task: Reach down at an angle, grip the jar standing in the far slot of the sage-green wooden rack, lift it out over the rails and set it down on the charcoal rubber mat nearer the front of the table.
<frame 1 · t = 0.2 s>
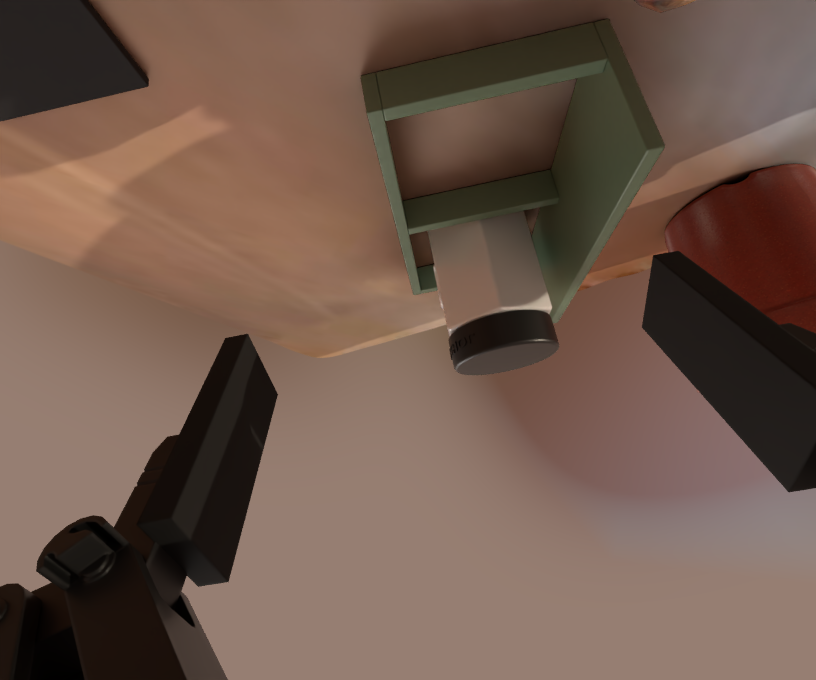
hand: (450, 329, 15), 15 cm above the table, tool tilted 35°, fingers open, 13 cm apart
jar: (473, 226, 38), resting in rack
flower pot: (732, 204, 41), on the table
rack: (475, 188, 32), on the table
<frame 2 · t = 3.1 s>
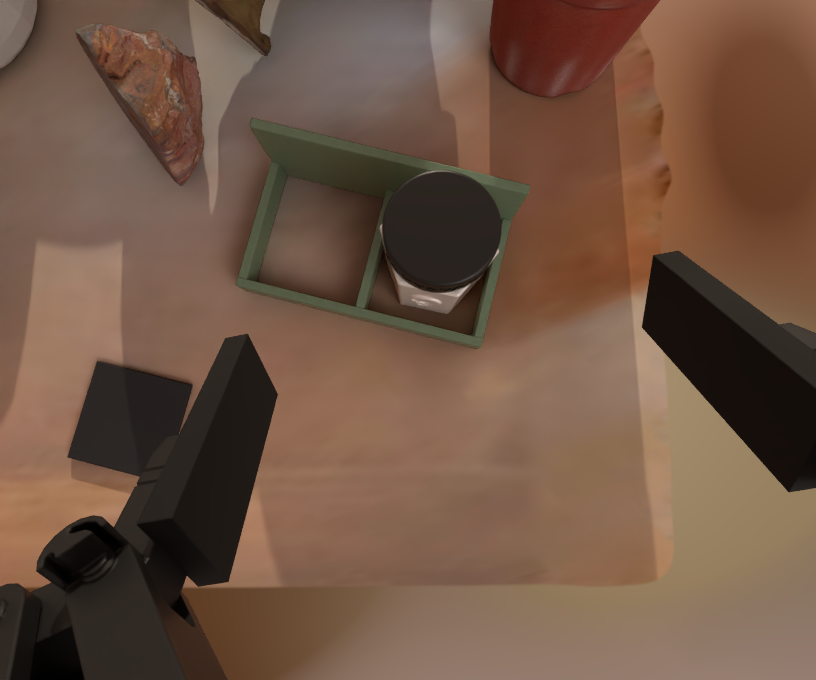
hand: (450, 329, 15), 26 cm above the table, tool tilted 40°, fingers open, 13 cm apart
mat: (132, 420, 40), on the table
jar: (432, 270, 42), resting in rack
flower pot: (548, 42, 43), on the table
stone: (190, 127, 43), on the table
rack: (377, 255, 41), on the table
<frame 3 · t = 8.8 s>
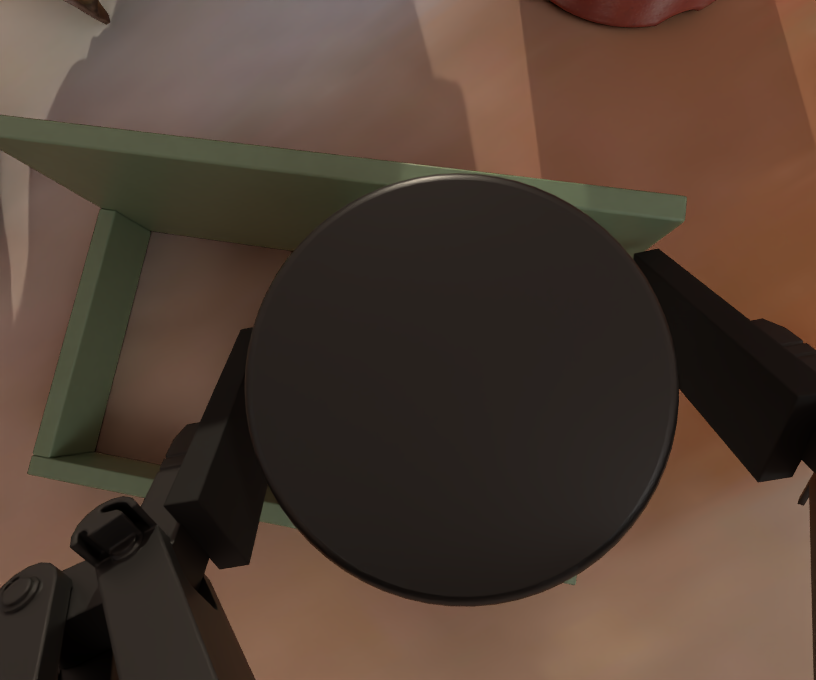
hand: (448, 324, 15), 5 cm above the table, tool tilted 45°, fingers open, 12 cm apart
jar: (445, 391, 20), resting in rack
rack: (330, 372, 20), on the table
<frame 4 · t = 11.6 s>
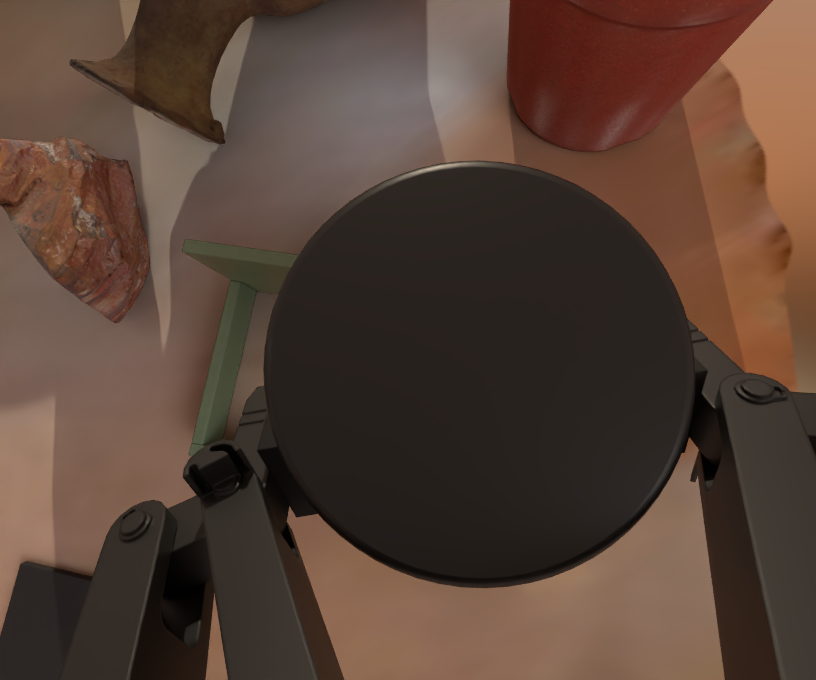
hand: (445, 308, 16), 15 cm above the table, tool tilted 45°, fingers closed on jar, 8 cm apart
mat: (66, 644, 30), on the table
jar: (454, 385, 20), point 10 cm above the table, touching gripper
jug: (279, 10, 36), on the table
flower pot: (587, 81, 32), on the table
stone: (136, 241, 34), on the table
rack: (380, 389, 30), on the table
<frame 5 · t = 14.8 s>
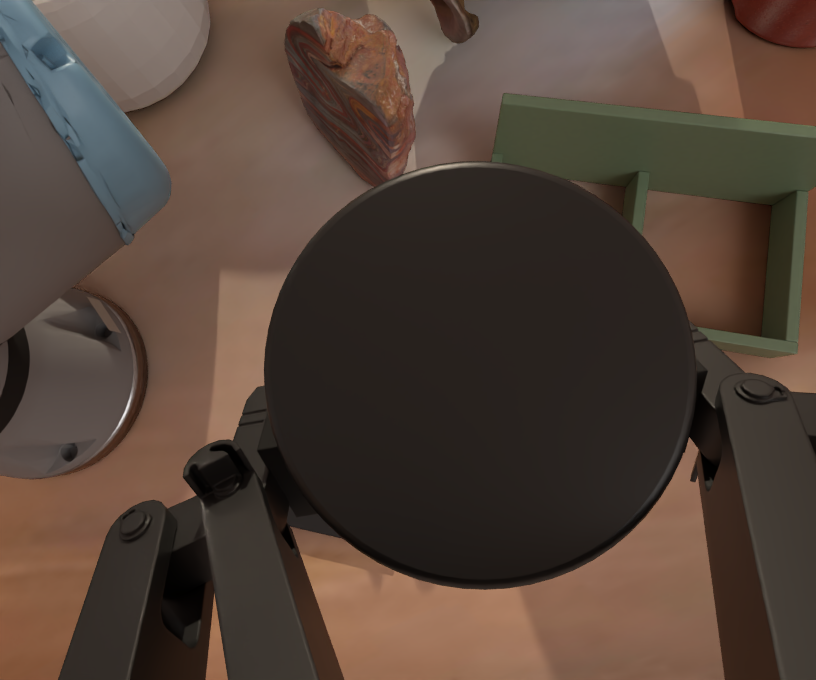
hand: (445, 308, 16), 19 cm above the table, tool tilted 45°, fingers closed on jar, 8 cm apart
mat: (345, 473, 33), on the table
jar: (455, 385, 20), point 14 cm above the table, touching gripper
mug 2: (113, 48, 41), on the table
stone: (380, 130, 38), on the table
rack: (622, 253, 34), on the table
when the fingers open (5 cm above the table, at t = 20.1 s): jar stays where it is, resting on mat.
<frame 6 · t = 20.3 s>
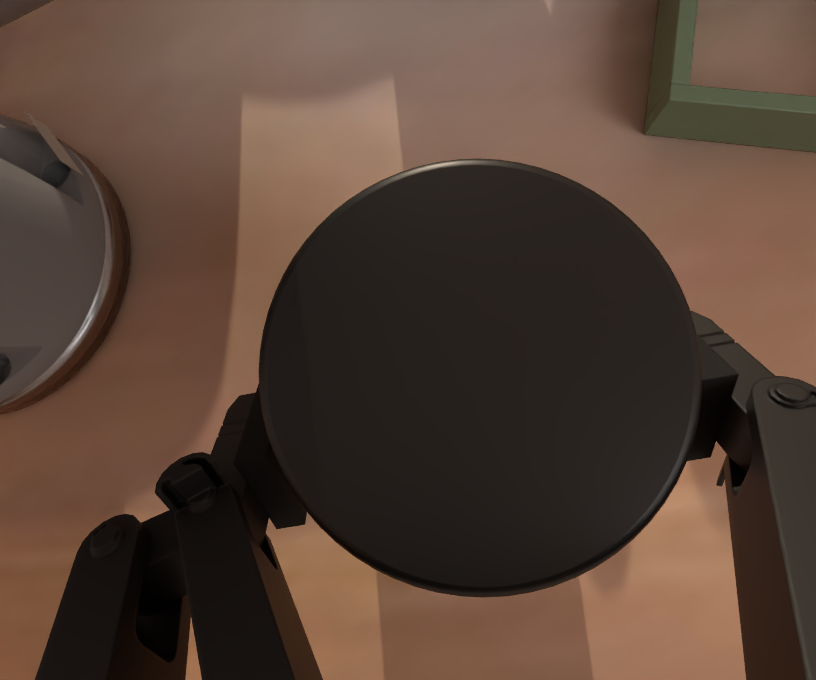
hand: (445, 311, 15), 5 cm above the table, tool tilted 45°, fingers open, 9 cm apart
jar: (456, 388, 20), resting on mat
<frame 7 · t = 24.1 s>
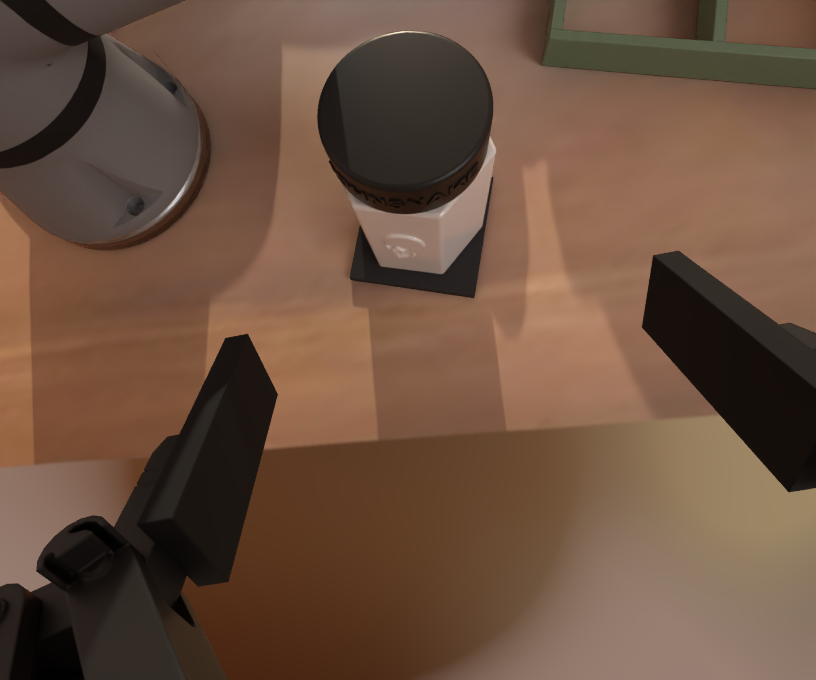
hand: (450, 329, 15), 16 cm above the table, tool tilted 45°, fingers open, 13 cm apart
mat: (422, 230, 32), on the table
jar: (420, 220, 32), resting on mat
rack: (704, 4, 33), on the table
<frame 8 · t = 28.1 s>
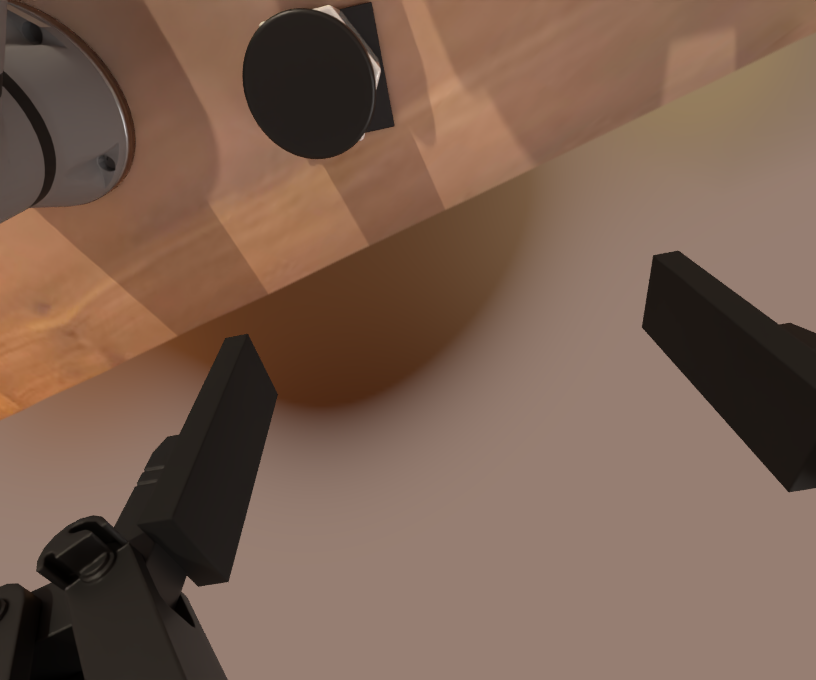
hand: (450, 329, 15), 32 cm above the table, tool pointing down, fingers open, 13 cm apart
mat: (332, 79, 37), on the table
jar: (327, 73, 37), resting on mat
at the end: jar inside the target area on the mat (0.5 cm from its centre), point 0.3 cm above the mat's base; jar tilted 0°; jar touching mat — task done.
